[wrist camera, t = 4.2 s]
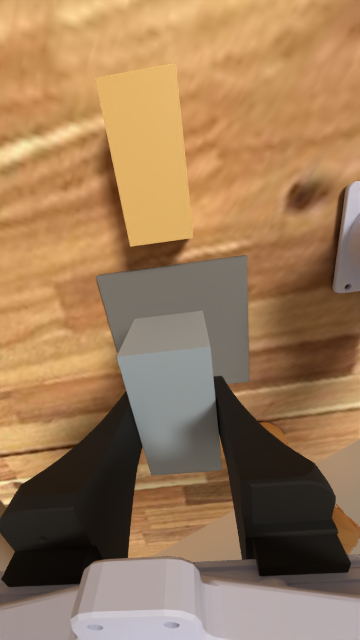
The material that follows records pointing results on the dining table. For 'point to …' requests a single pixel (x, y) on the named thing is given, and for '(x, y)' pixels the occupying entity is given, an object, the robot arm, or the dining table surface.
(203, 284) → the mat
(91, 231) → the dining table surface
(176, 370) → the slate brick
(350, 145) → the dining table surface
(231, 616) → the robot arm
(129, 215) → the ochre brick
